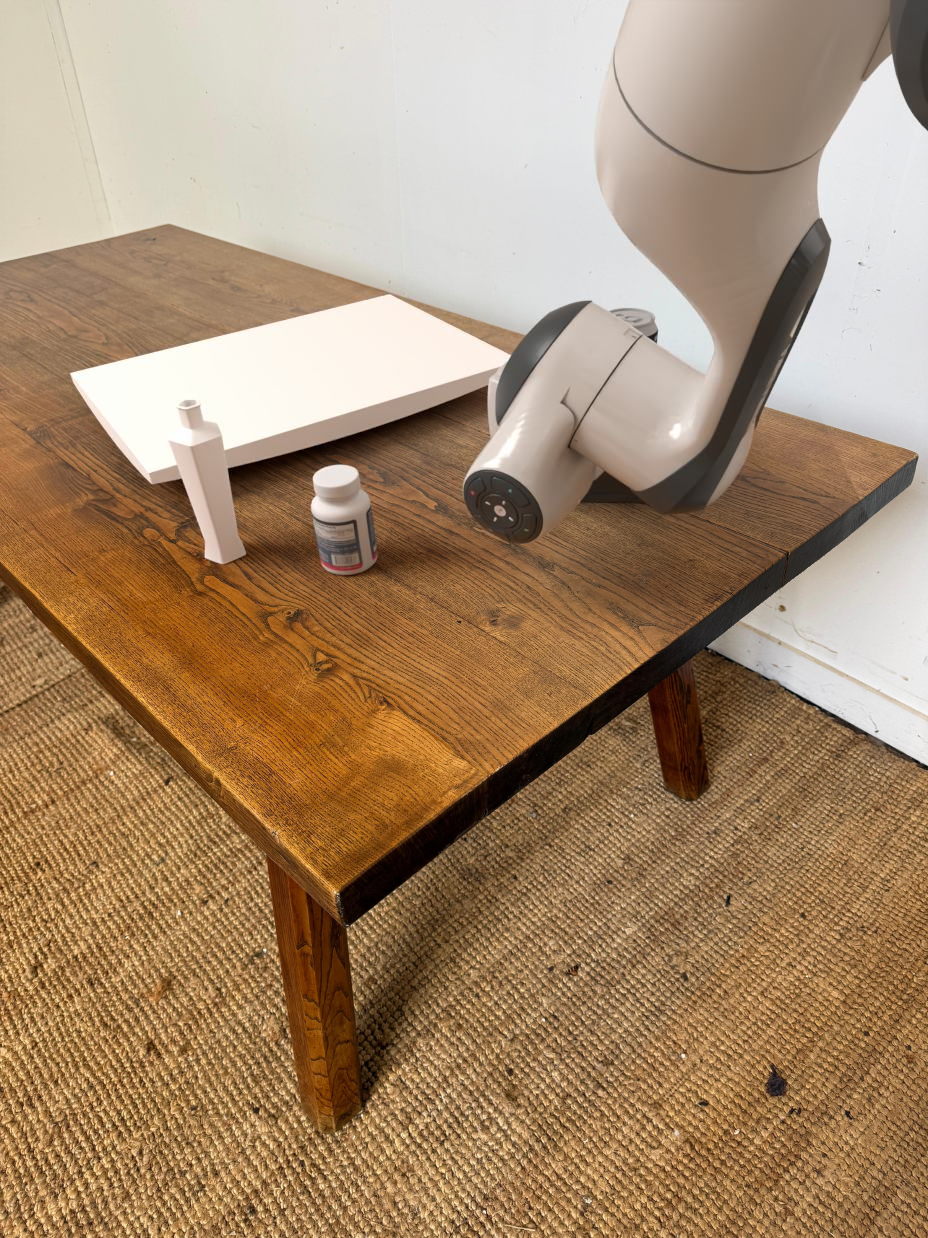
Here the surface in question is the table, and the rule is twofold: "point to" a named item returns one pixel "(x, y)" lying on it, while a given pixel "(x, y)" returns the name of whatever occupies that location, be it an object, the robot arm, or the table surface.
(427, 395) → the board
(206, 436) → the perfume bottle
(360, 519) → the pill bottle
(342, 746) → the table surface
